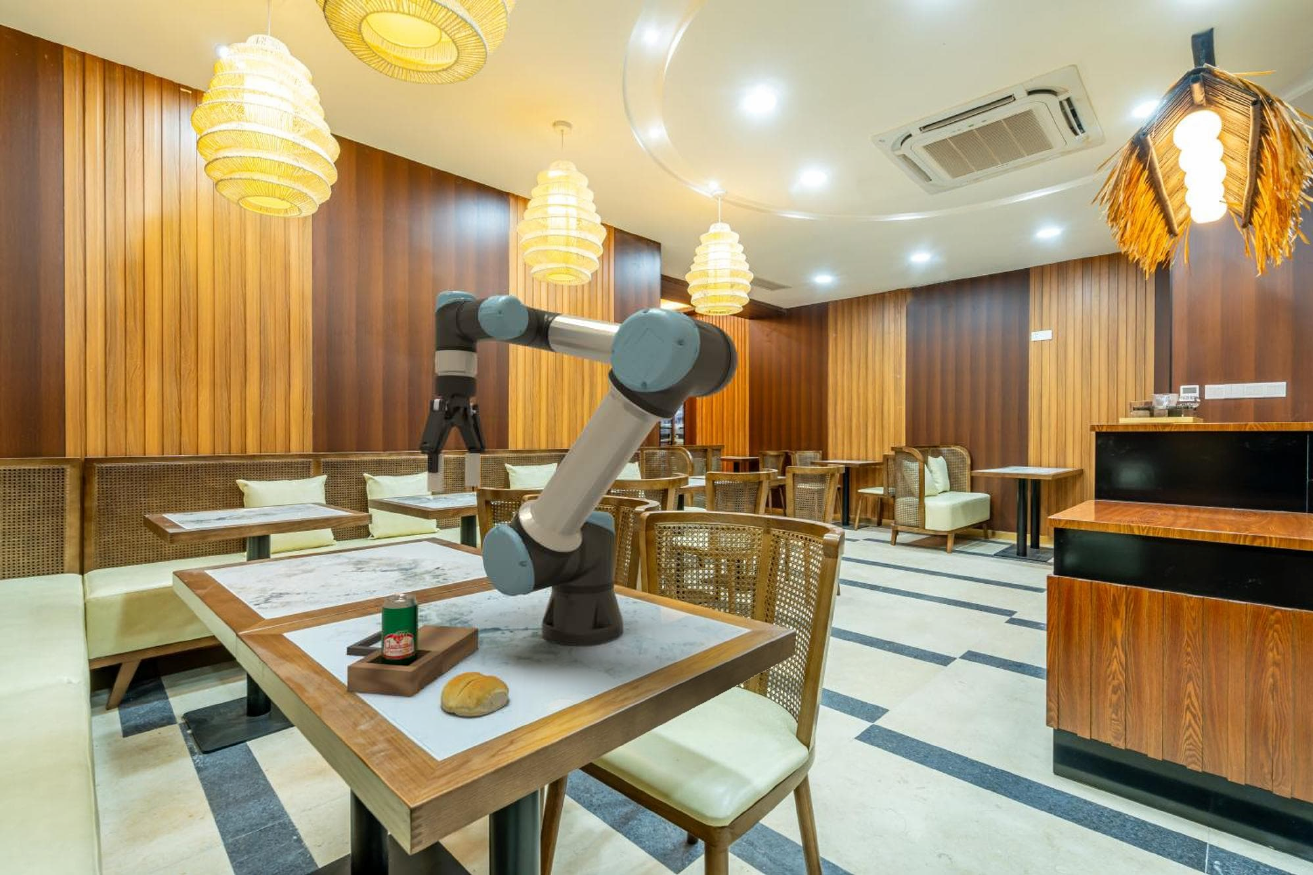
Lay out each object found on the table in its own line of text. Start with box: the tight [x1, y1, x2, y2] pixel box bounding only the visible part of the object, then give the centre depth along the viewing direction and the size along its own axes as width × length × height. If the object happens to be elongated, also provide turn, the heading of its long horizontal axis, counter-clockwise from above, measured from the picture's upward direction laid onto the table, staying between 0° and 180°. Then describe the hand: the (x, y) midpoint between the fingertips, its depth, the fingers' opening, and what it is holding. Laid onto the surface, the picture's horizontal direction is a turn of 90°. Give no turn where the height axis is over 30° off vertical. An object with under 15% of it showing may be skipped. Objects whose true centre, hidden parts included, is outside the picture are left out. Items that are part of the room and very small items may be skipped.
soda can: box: [380, 593, 420, 666], centre depth 90 cm, size 5×5×12 cm
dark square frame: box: [346, 630, 382, 657], centre depth 104 cm, size 9×9×1 cm
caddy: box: [346, 624, 479, 698], centre depth 95 cm, size 10×20×4 cm, turn 170°
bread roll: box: [440, 671, 510, 718], centre depth 83 cm, size 8×9×4 cm
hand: (454, 488), depth 114 cm, fingers open, 13 cm apart
